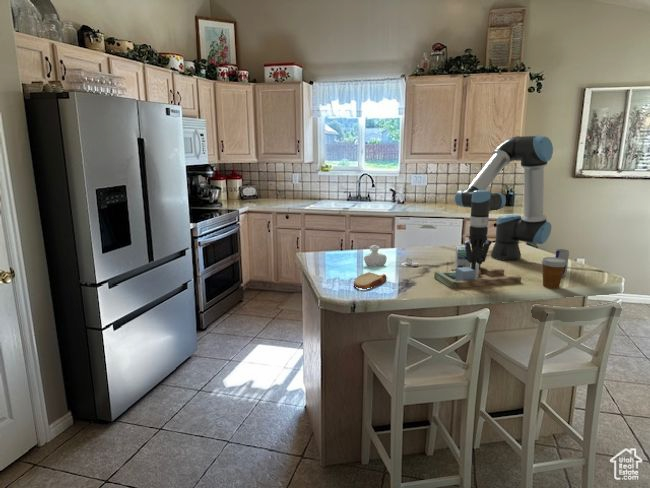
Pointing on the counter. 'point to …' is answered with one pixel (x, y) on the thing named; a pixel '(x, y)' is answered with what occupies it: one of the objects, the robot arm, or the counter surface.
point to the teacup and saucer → (410, 262)
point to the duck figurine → (375, 257)
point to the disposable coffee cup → (552, 271)
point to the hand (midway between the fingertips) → (474, 277)
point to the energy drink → (563, 255)
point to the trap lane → (446, 279)
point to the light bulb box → (461, 257)
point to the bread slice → (369, 280)
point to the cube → (465, 274)
